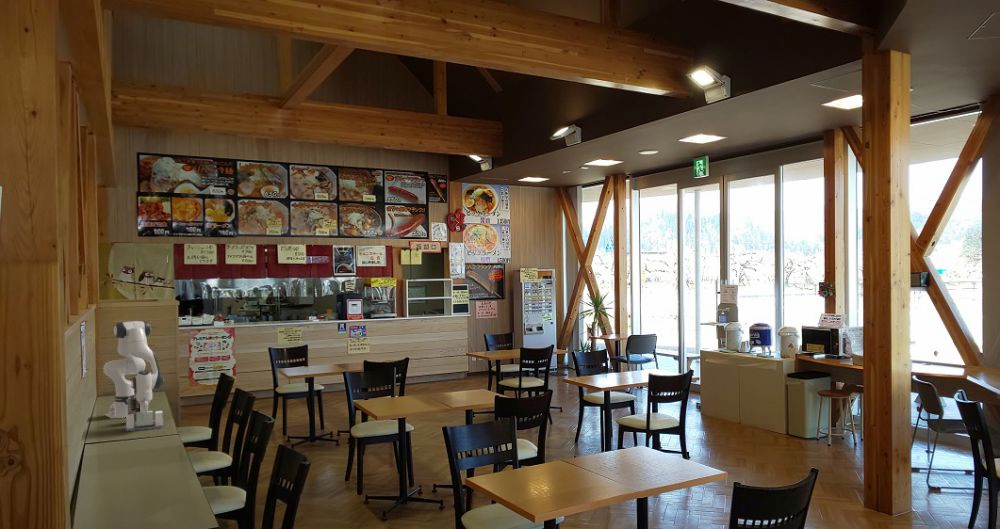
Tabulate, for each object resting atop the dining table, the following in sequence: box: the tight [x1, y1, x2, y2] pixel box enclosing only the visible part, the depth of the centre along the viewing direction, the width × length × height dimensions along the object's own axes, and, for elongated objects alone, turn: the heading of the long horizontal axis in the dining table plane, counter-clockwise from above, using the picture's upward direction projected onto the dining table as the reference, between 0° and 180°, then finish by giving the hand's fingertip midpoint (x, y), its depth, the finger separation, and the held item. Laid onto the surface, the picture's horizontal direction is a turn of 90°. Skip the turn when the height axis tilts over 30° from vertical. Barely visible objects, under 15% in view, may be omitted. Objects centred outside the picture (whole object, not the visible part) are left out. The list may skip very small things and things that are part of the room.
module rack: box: [125, 410, 165, 433], centre depth 422 cm, size 9×21×10 cm, turn 118°
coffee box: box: [127, 396, 141, 423], centre depth 439 cm, size 9×6×16 cm
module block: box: [137, 410, 154, 426], centre depth 422 cm, size 4×9×8 cm, turn 118°
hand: (144, 419), depth 422 cm, fingers closed on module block, 4 cm apart
